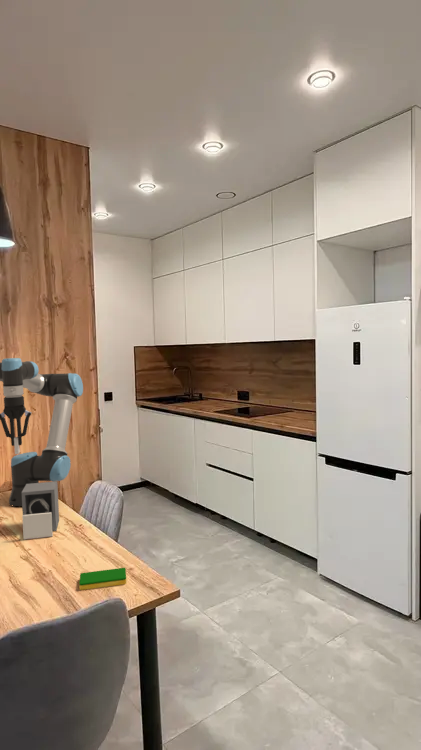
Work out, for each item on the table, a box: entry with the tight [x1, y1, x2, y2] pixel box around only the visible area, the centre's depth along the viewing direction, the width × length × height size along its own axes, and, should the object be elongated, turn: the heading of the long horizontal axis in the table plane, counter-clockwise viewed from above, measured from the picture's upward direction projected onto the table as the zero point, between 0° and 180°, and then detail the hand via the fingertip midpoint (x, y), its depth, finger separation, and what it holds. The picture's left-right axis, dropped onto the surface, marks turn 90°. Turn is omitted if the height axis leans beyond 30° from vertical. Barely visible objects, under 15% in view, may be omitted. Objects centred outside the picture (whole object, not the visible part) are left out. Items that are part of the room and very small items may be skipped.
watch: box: [28, 498, 50, 514], centre depth 190 cm, size 6×8×11 cm
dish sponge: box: [78, 567, 127, 591], centre depth 146 cm, size 7×14×2 cm, turn 102°
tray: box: [21, 512, 54, 540], centre depth 188 cm, size 16×10×9 cm, turn 13°
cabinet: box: [21, 481, 60, 532], centre depth 192 cm, size 12×12×17 cm
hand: (17, 453), depth 194 cm, fingers closed
